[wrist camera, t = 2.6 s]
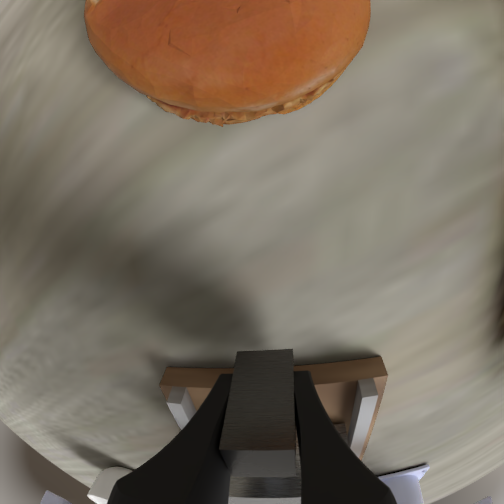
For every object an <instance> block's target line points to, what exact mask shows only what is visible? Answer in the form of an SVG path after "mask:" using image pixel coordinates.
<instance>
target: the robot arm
mask: <svg viewBox="0 0 504 504" xmlns="http://www.w3.org/2000/svg"><path fill="white" fill-rule="evenodd" d="M232 376H233V374H220V375H219V377H218V379H217V380H216V382H215V384H214V386H213V387H212V389H211V391H210V392H209V394H208V395H207V397H206V399H205V400H204V402H203V403H202V404H201V406H200V407H199V409H198V410H197V412H196V413H195V414H194V416H193V417H192V418H191V419H190V421H189V422H188V423H187V424H186V426H185V427H184V428H183V429H182V430H181V431H180V432H179V434H178V435H177V436H176V437H175V438H174V439H173V440H172V441H171V442H170V443H169V444H168V445H166V446H165V447H164V448H163V449H162V450H161V451H160V452H159V453H157V454H156V455H155V456H154V457H152V458H151V459H150V460H148V461H147V462H146V463H144V464H143V465H141V466H140V467H139V468H137V469H135V470H134V471H132V472H130V473H129V474H127V475H125V476H123V477H122V478H120V479H118V480H117V481H116V483H115V485H114V486H113V489H112V491H111V494H110V496H109V499H108V502H107V504H228V500H229V487H230V476H231V473H230V471H229V469H228V467H227V465H226V463H225V461H224V459H223V457H222V455H221V453H220V451H219V446H220V441H221V435H222V430H223V425H224V419H225V414H226V409H227V403H228V398H229V392H230V388H231V382H232ZM294 399H295V422H296V431H297V439H298V448H299V456H300V466H301V504H424V502H423V498H422V493H421V489H420V484H419V480H420V479H421V478H422V476H423V475H424V474H425V473H426V471H427V470H428V469H429V465H428V464H427V465H423V466H420V467H416V468H413V469H409V470H405V471H401V472H397V473H393V474H388V475H384V476H379V477H377V476H375V475H374V474H373V473H372V472H371V471H370V470H369V469H368V468H367V467H366V466H365V465H364V464H363V462H362V461H361V460H360V459H359V458H358V457H357V456H356V455H355V453H354V452H353V451H352V450H351V449H350V447H349V446H348V445H347V443H346V442H345V441H344V439H343V438H342V437H341V435H340V434H339V432H338V431H337V429H336V428H335V426H334V424H333V423H332V421H331V419H330V418H329V416H328V414H327V412H326V410H325V408H324V406H323V404H322V402H321V400H320V398H319V396H318V394H317V391H316V389H315V386H314V383H313V380H312V376H311V372H310V371H308V370H305V371H294ZM40 504H72V503H70V502H69V501H67V500H65V499H63V498H61V497H60V496H58V495H55V494H54V493H52V492H50V491H46V492H45V495H44V496H43V499H42V501H41V503H40ZM474 504H493V503H492V499H491V497H490V496H488V497H486V498H484V499H482V500H480V501H478V502H476V503H474Z"/></svg>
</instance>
